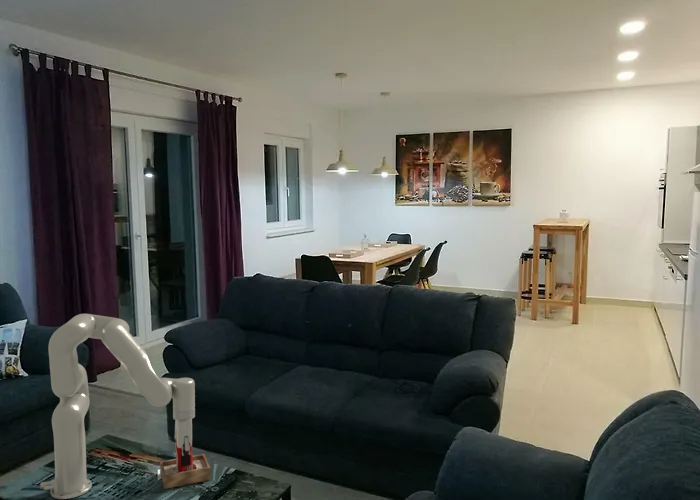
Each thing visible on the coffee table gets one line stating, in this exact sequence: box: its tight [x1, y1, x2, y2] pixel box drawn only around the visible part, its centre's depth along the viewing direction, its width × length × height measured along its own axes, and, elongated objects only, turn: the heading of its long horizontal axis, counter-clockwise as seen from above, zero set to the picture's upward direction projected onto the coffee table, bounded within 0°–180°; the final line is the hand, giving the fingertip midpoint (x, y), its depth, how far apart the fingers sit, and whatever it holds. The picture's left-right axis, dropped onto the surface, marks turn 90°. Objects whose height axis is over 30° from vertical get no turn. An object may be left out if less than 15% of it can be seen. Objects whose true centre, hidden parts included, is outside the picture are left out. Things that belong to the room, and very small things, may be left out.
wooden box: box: [159, 453, 211, 490], centre depth 196 cm, size 16×12×4 cm
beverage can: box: [174, 437, 194, 473], centre depth 195 cm, size 6×6×15 cm
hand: (184, 461), depth 195 cm, fingers closed on beverage can, 5 cm apart
